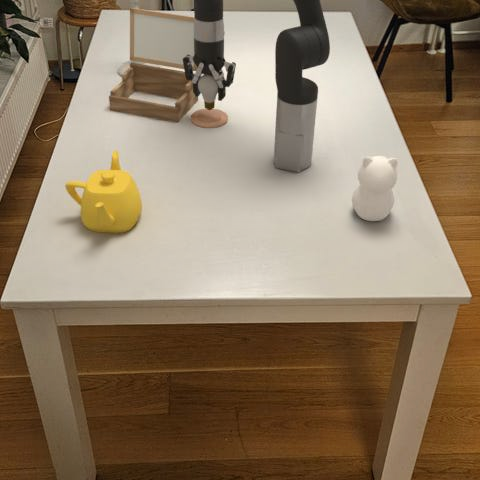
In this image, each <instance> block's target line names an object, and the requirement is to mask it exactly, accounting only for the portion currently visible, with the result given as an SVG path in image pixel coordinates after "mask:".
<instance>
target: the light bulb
mask: <svg viewBox="0 0 480 480" xmlns="http://www.w3.org/2000/svg"><path fill="white" fill-rule="evenodd" d="M218 88H219V85H218V83H217V81H216V80H215V79H214V76H211V75H208V74H202V75H201V77H200V79H199V81H198V89H199V91H200V93H201V94H200V95H201V96H202V99H203V102H204V103H203V104H204V109H208V110H211V109H215V105H216V104H215V102H216V99H217V96H218Z"/></svg>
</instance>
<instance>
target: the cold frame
mask: <svg viewBox="0 0 480 480" xmlns="http://www.w3.org/2000/svg"><path fill="white" fill-rule="evenodd" d="M195 73H196V72H195ZM195 73H194V72H193V74H194V75H195ZM135 92H139V93H142V94H149V95H154V96H159V97H165V98H171V99H176V100H177V101H175V102H174V106H173V105H167V104H162V103H157V102H151V101H147V100H141V99H135V98H129V97H130V96H131V95H133V93H135ZM198 101H199V96H198V97H197V96H195V94H194V93H193V82H192V81H191V80H187V79H186V77H185V71H183V70H182V71H181V70H176V69H172V68H171V69H170V68H163V67H161V66H160V67H154V66H148V65H142V64H136V63H130V68H129V69H128V70H126V71H125V72H124V73H123V74H122V77H121V81H120V83H118V84H117V85H116V86H115V87H114V88H112V89H111V90H110V95H108V102H109V110H111V111H113V112H118V113H125V114H131V115H135V116H140V117H145V118H146V117H147V118H151V119H156V120H161V121H166V122H172V123H179V122H180V120H181V119H182V118H183V117H184V116H185V115H186V114H187V113H189V111H190V110H191V109H192V108H193V107H194V106H195V105H196V104H197V102H198ZM194 104H195V105H194ZM193 105H194V106H193ZM192 106H193V107H192ZM191 107H192V108H191Z"/></svg>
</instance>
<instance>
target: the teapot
mask: <svg viewBox="0 0 480 480" xmlns="http://www.w3.org/2000/svg"><path fill="white" fill-rule="evenodd" d="M119 154H120V153H119V151H118V150H117V149H116V150H114V151H113V152H112V154H111V162H110V169H102V170H101V169H100V170H96V171H94V172H93V173H92V174H90V176H89V177H88V180H87V181H86V182H84V181H79V180H69V181H67V182H66V183H65V190H66V192H67V194H68V195H69V196H70V197H71V198H72V199H73V200H74V201H75V202H76V203H77V204H78V205H79V206H80V217H81V221H82V224H83V225H84V227H86V229H88V231H90V230H91V232H93V231H94V232H93V233H101V232H102V233H103V234H104V233H105V234H120V233H125V232H129V231H130V230H132V229H133V227H134V226H135V225H136V223H137V222H138V220H139V218H140V216H141V214H142V208H143V203H142V198H141V194H140V191H139V188H138V186H137V184H136V182H135V179H133V176H132V175H131V174H130V172H129V171H126V170H122V169H121V165H120V160H119V159H120V158H119V156H120V155H119ZM76 188H80V189H83V191H82V196H81V195H79V193H78V192H77V190H76Z"/></svg>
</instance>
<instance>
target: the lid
mask: <svg viewBox="0 0 480 480" xmlns="http://www.w3.org/2000/svg"><path fill="white" fill-rule="evenodd" d="M194 54H195V53H194V16H190V15H183V14H182V15H181V14H177V13H170V12H169V13H168V12H161V11H157V10H154V11H153V10H150V9H149V10H148V9H143V8H142V9H141V8H138V9H136V8H131V7H130V8H129V61H130V60H132V61H138V62H144V63H149V64H155V65H159V66H160V67H161V66H162V67H168V68H175V69H180V70H184V65H183V58H184V57H185V56H186V55H190V56H194ZM192 68H193V72H196V71H197V69H198V68H197V66H196V65H195V63H194V61H193V63H192Z"/></svg>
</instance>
